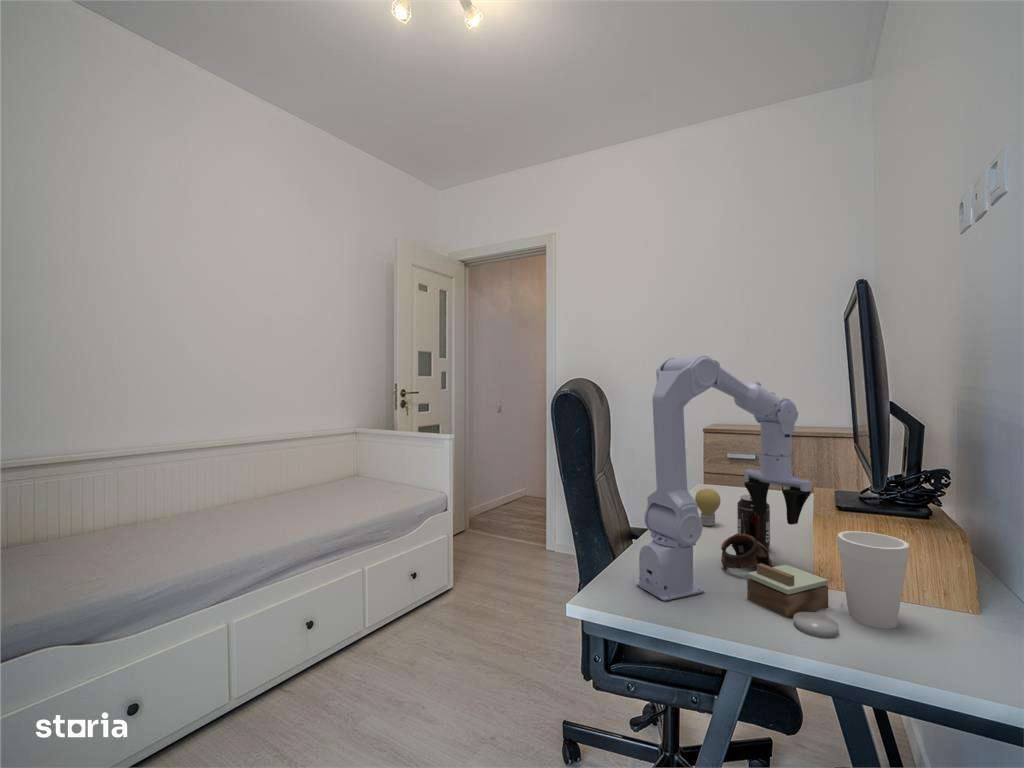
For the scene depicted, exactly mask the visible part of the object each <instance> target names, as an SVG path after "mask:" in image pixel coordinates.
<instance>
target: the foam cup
mask: <svg viewBox="0 0 1024 768" xmlns="http://www.w3.org/2000/svg"><path fill="white" fill-rule="evenodd" d="M837 551H838V552H839V559H840V565H841V571H842V577H843V584H844V591H845V597H846V603H847V610H848V615H849V617H851V619H852V620H854V621H855V622H858V623H860V624H862V625H865V626H869V627H872V628H876V629H877V628H878V629H894V628H897V624H898V621H899V620H898V619H899V614H900V607H901V599H902V596H903V595H902V594H903V588H904V582H905V575H906V570H907V563H909V558H910V557H909V543H908V542H906V541H904V540H903V539H900V538H897V537H894V536H891V535H887V534H882V533H877V532H876V533H875V532H870V531H869V532H868V531H860V530H859V531H857V530H855V531H854V530H853V531H851V530H846V531H841V532H838V534H837Z"/></svg>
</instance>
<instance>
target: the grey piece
mask: <svg viewBox="0 0 1024 768" xmlns="http://www.w3.org/2000/svg"><path fill="white" fill-rule="evenodd" d="M793 625H794V627H795V628H796V629H797V630H798V631H800V632H802V633H804V634H806V635H809V636H813V637H817V638H821V639H833V638H836V637H838V636H839V635H840V633H839V632H840V631H839V623H838V622H837V621H836V620H834V619H833V618H832V617H829V616H827V615H824V614H821V613H817V612H814V611H813V612H798V613H796V614H794V617H793Z"/></svg>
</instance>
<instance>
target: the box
mask: <svg viewBox="0 0 1024 768" xmlns="http://www.w3.org/2000/svg"><path fill="white" fill-rule="evenodd" d="M746 583H747V585H746V586H747V589H746V591H747V598H746V599H747V600H748V601H750V602H752V603H754V604H756V605H759V606H761V607H763V608H765V609H766V610H767V609H768V610H769V611H771V612H774V613H776V614H778V615H780V616H782V617H784V618H786V619H791V618H794V614H796V613H798V612H813V613H814V612H815V611H820V610H823V609H826V608H827V609H828V608H829V586H828V585H825V586H821V587H817V588H813V589H809V590H805V591H801V592H797V593H793V594H789V595H788V594H785V593H783V592H780V591H778V590H776V589H773V588H771V587H769V586H766V585H764V584H762V583H759V582H757V581H755V580H752V579H750V578H747V580H746Z"/></svg>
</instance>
